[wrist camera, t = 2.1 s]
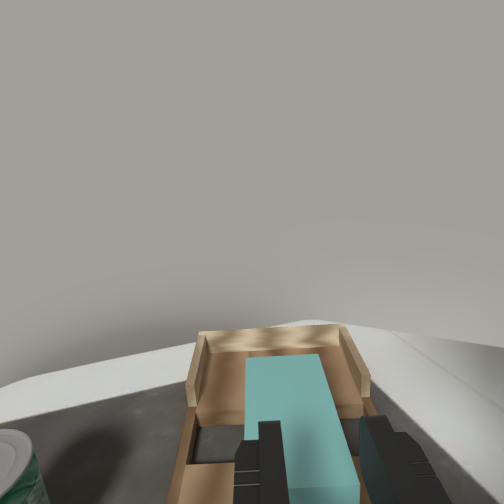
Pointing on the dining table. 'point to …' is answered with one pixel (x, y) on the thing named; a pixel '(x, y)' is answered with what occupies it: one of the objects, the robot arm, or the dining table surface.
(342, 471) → the teal box
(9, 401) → the dining table surface
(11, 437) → the canned tomato
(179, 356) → the dining table surface
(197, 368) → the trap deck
